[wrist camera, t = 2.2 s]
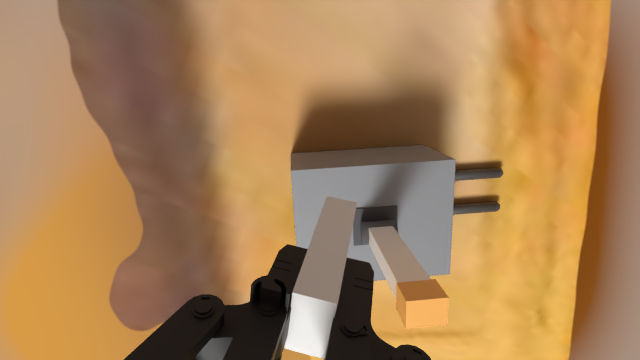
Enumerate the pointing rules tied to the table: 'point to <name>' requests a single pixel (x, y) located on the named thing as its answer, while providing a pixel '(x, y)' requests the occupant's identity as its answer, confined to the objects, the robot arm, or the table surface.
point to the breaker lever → (406, 277)
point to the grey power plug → (387, 197)
